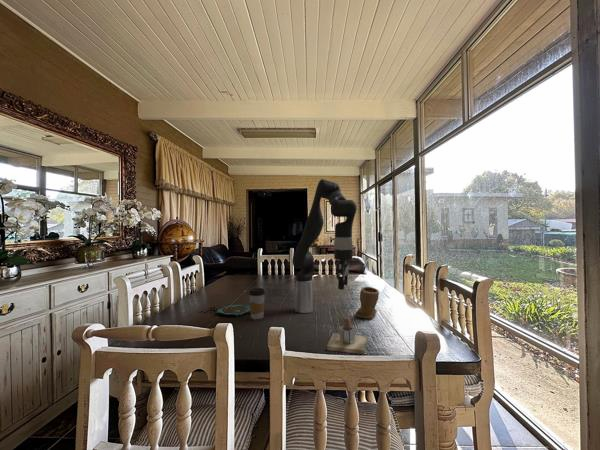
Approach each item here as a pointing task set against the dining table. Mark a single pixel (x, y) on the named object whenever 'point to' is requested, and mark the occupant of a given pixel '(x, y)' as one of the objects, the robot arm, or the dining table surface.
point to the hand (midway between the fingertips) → (343, 287)
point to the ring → (347, 335)
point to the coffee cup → (257, 303)
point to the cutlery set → (235, 310)
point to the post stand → (351, 348)
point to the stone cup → (368, 302)
